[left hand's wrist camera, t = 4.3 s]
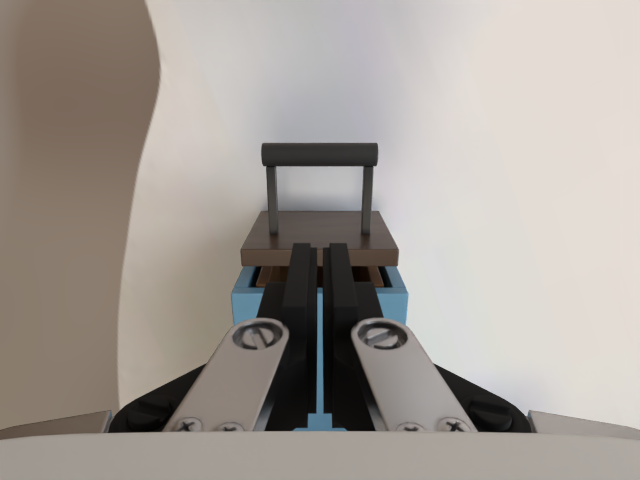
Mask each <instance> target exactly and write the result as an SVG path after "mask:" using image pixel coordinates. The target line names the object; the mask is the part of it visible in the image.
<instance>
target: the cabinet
mask: <svg viewBox="0 0 640 480" xmlns="http://www.w3.org/2000/svg"><path fill="white" fill-rule="evenodd" d="M377 267H378V270H379V273H380V276H381V278H382V281H383V284H384V288H375V289H376V292H377V296H378V299H379V302H380V306H381V309H382V313H383V316H384V318H387V319H392V320H395V321H398V322H400V323H402V324H404V325H405V326H406V317H407V306H408V295H409V294H408V292H407V289H406V287H405V285H404V283H403V280H402V278H401V276H400V274H399V272H398V269H397V267H396V266H377ZM261 269H262V266H244V267H243V269H242V271H241V273H240V276H239V278H238V280H237V282H236V284H235V287H234V288H233V291H232V293H231V300H232V311H233V322H234V326H235V325H236V324H238V323H240V322H242V321H245V320H248V319H253V318H256V316H257V313H258V309H259V306H260V302H261V299H262V296H263V292H264V289H265V288H256V283H257V280H258V277H259V275H260V272H261ZM293 431H347V430H346V429H344V428H332V414H323V288H317V414H308V428H296V429H294V430H293Z"/></svg>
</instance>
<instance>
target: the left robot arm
mask: <svg viewBox="0 0 640 480" xmlns="http://www.w3.org/2000/svg"><path fill="white" fill-rule="evenodd" d="M308 414H317V247H311V243H293V247H292V252H291V258H290V263H289V269H288V274H287V279H286V282H267V283H266V285H265V289H264V292H263V296H262V299H261V302H260V306H259V309H258V313H257V316H256V318H253V319H248V320H245V321H242V322H240V323H238V324H236V325H235V326H233V327H232V328H231V329H230V330H229V331H228V332H227V334H226V335H225V337H224V338H223V340H222V341H221V343H220V344H219V346H218V347H217V349H216V350H215V352H214V353H213V355H212V356H211V358H210V359H209V361H208V362H207V363H206V364H204V365H202V366H200V367H198V368H196V369H194V370H192V371H190V372H188V373H187V374H185V375H183V376H181V377H179V378H177V379H175V380H173V381H171V382H169V383H167V384H165V385H163V386H161V387H159V388H157V389H155V390H153V391H151V392H149V393H147V394H145V395H143V396H141V397H139V398H137V399H135V400H134V401H132V402H131V403H129V404H127V405H126V406H124V407H123V408H122V409H121V410H120V411H119V412H118V413H117V414H116V415H115V416H112V412H111V410H108V411H102V412H96V413H90V414H84V415H78V416H73V417H67V418H61V419H55V420H49V421H43V422H37V423H31V424H25V425H19V426H13V427H9V428H6V429H2V430H0V480H640V430H638V429H634V428H631V427H627V426H621V425H615V424H609V423H603V422H597V421H591V420H585V419H579V418H573V417H568V416H562V415H556V414H550V413H544V412H538V411H532V410H529V412H528V416H525V415H524V414H523V413H522V412H521V411H520V410H519V409H518V408H517V407H516V406H514V405H513V404H511V403H509V402H508V401H506V400H505V399H503V398H501V397H499V396H497V395H495V394H493V393H491V392H489V391H487V390H485V389H483V388H481V387H479V386H477V385H475V384H473V383H471V382H469V381H467V380H465V379H463V378H461V377H459V376H457V375H455V374H453V373H452V372H450V371H448V370H446V369H444V368H442V367H440V366H438V365H436V364H434V363H433V362H432V361H431V359H430V358H429V356H428V355H427V353H426V352H425V350H424V349H423V347H422V346H421V344H420V343H419V341H418V340H417V338H416V337H415V335H414V334H413V332H412V331H411V330H410V329H409V328H408V327H407V326H405V325H404V324H402V323H400V322H398V321H395V320H392V319H387V318H384V316H383V313H382V309H381V306H380V302H379V299H378V296H377V292H376V289H375V285H374V283H373V282H354V279H353V274H352V269H351V263H350V258H349V252H348V247H347V243H329V247H323V414H332V428H344V429H346V430H347V431H293V430H294V429H296V428H308Z"/></svg>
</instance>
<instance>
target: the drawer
mask: <svg viewBox="0 0 640 480" xmlns="http://www.w3.org/2000/svg"><path fill="white" fill-rule="evenodd" d="M261 156H262V164H263V166H267V167H266V174H267V195H268V211H261V212H260V214H259V216H258V218H257V220H256V222H255V224H254V225H253V227H252V229H251V231H250V233H249V235H248V237H247V239H246V241H245V242H244V244H243V246H242V248H241V263H242V266H262V269H261V272H260V275H259V277H258V280H257V283H256V288H265V285H266V283H267V282H286V279H287V274H288V269H289V263H290V258H291V252H292V247H293V243H311V247H317V288H323V247H329V243H347V247H348V252H349V258H350V263H351V269H352V274H353V279H354V282H373V283H374V285H375V288H384V284H383V281H382V278H381V276H380V273H379V270H378V267H377V266H398V257H399V249H398V247H397V245H396V243H395V241H394V239H393V237H392V236H391V234H390V232H389V230H388V228H387V226H386V224H385V222H384V220H383V218H382V217H381V215H380V213H379V211H371V208H372V187H373V166H376V165H377V162H378V145H377V143H263V144H262V149H261ZM276 166H363V190H362V211H278V200H277V175H276Z"/></svg>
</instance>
